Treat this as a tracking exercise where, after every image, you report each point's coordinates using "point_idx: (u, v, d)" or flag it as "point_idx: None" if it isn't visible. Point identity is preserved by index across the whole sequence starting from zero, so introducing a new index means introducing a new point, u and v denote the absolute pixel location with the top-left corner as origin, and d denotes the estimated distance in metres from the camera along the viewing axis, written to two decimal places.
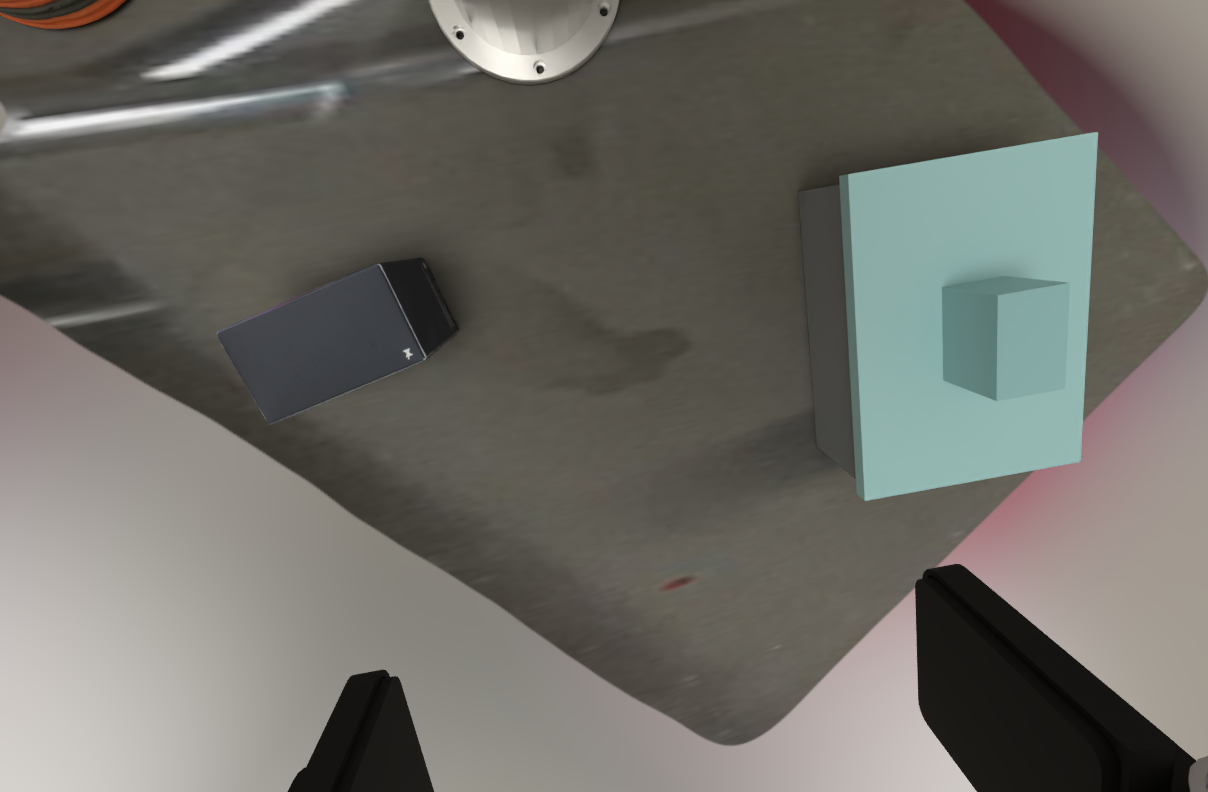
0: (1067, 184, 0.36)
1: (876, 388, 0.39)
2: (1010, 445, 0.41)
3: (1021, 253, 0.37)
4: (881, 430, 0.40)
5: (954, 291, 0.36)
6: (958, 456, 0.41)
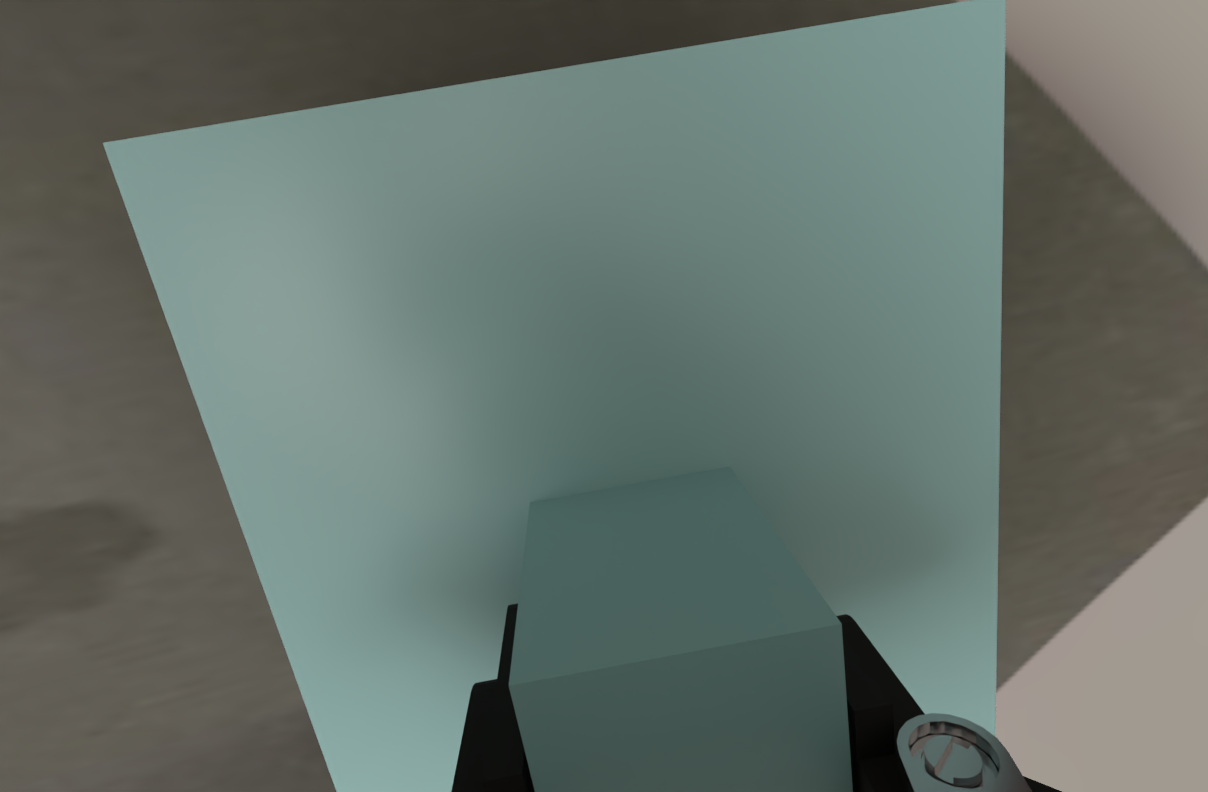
0: (909, 180, 0.11)
1: (383, 774, 0.13)
2: None
3: (775, 399, 0.12)
4: None
5: (527, 541, 0.11)
6: None
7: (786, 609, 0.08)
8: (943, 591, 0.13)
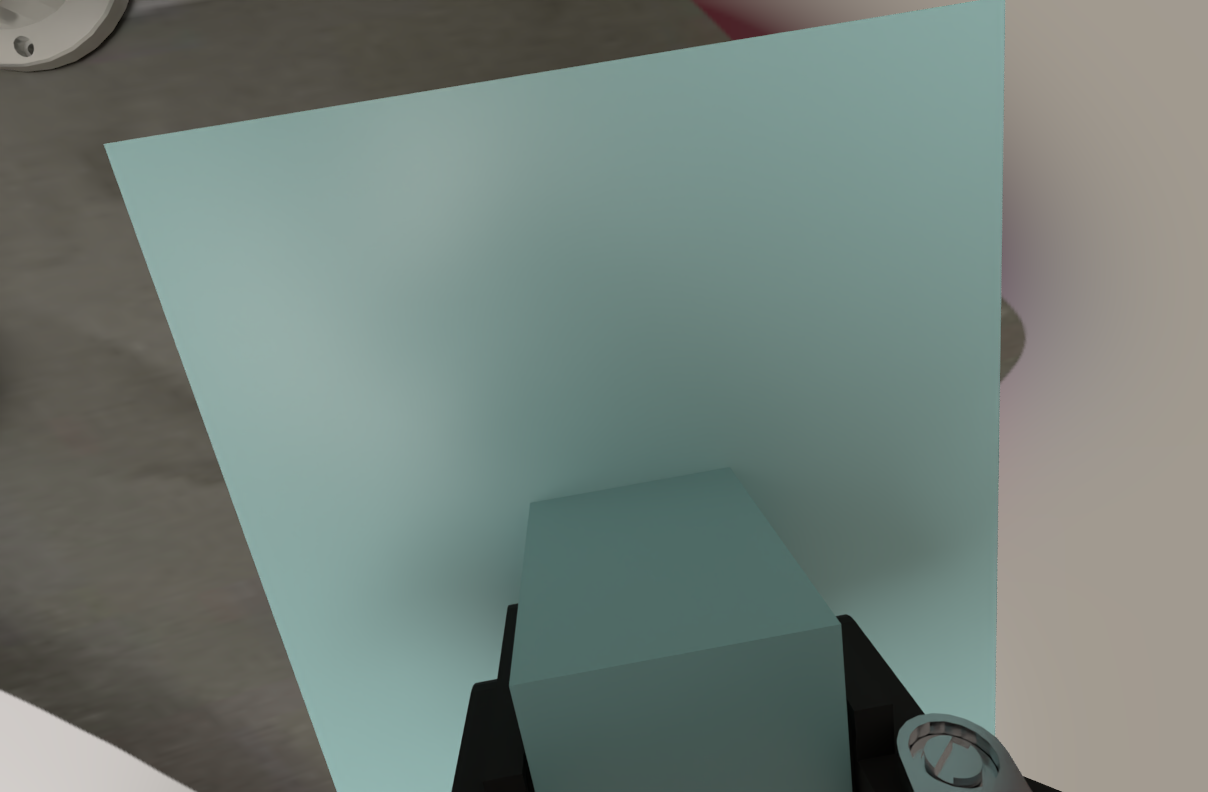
0: (908, 181, 0.11)
1: (383, 773, 0.13)
2: None
3: (774, 400, 0.12)
4: None
5: (528, 541, 0.11)
6: None
7: (786, 609, 0.08)
8: (943, 591, 0.13)
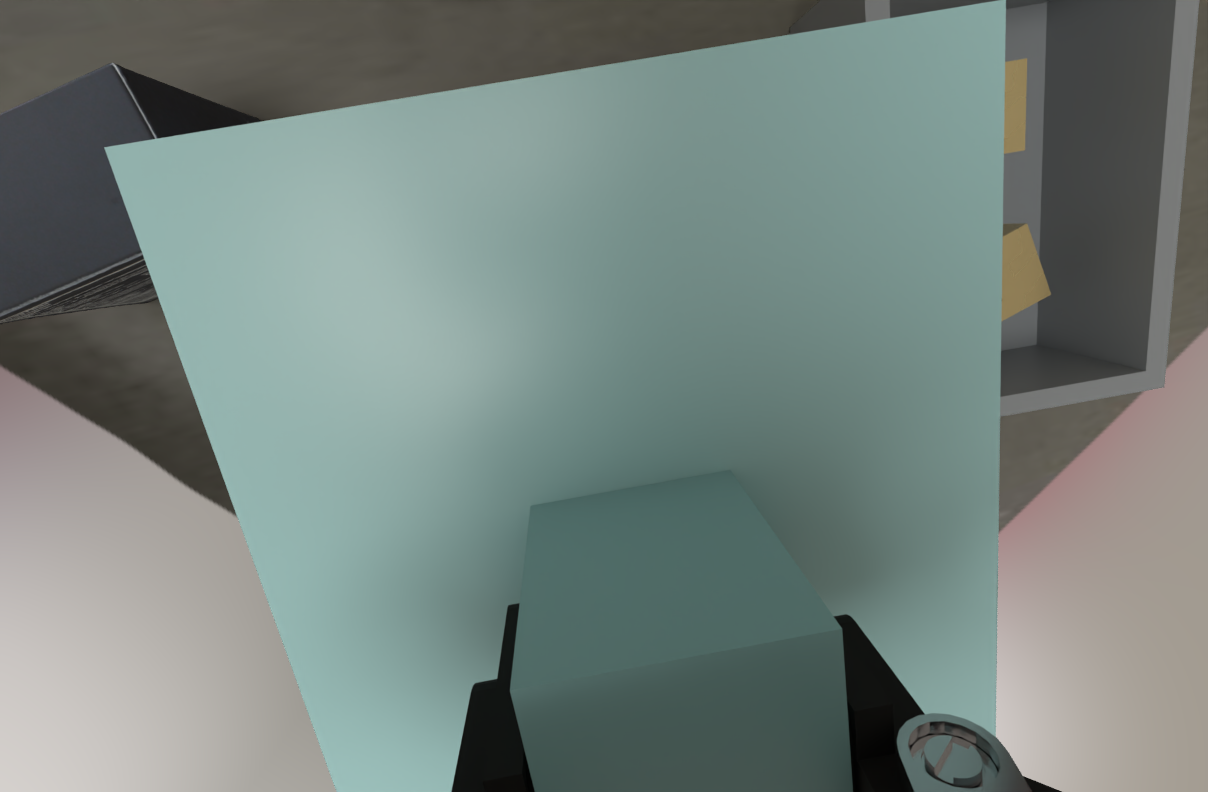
0: (909, 184, 0.11)
1: (383, 776, 0.13)
2: None
3: (775, 403, 0.12)
4: None
5: (529, 544, 0.11)
6: None
7: (786, 614, 0.08)
8: (943, 594, 0.13)
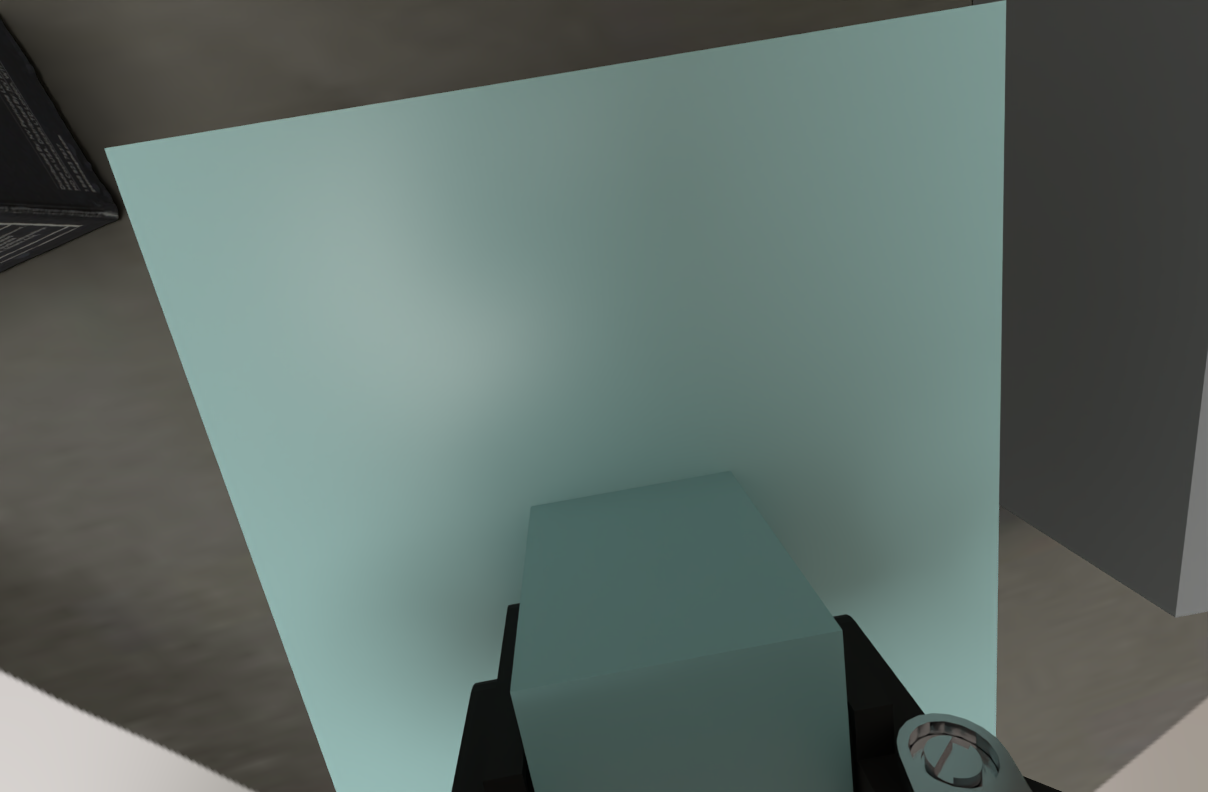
0: (909, 185, 0.11)
1: (383, 776, 0.13)
2: None
3: (775, 404, 0.12)
4: None
5: (529, 545, 0.11)
6: None
7: (787, 615, 0.08)
8: (943, 595, 0.13)
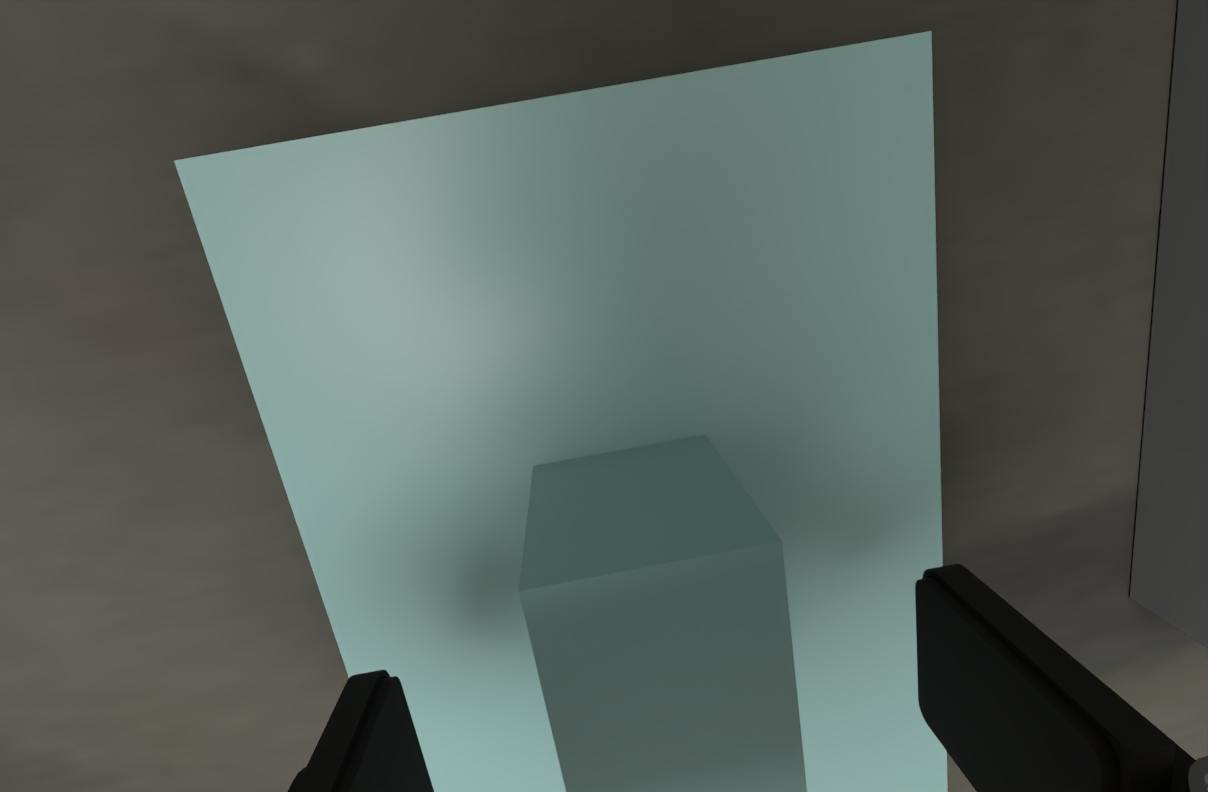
0: (854, 186, 0.13)
1: None
2: None
3: (743, 376, 0.14)
4: None
5: (532, 495, 0.13)
6: None
7: (740, 533, 0.10)
8: (894, 544, 0.15)
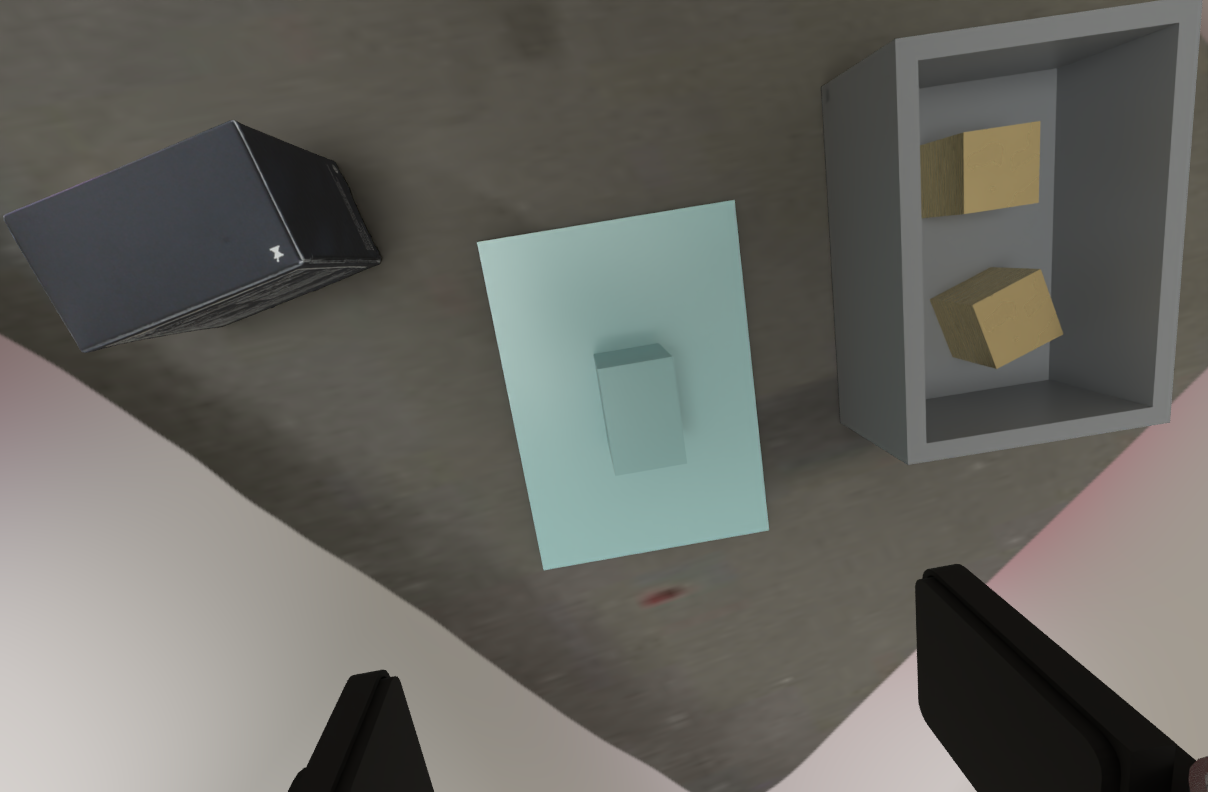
0: (710, 251, 0.36)
1: (538, 455, 0.38)
2: (691, 513, 0.39)
3: (672, 320, 0.37)
4: (550, 498, 0.39)
5: (594, 360, 0.36)
6: (637, 524, 0.39)
7: (661, 356, 0.32)
8: (735, 390, 0.38)
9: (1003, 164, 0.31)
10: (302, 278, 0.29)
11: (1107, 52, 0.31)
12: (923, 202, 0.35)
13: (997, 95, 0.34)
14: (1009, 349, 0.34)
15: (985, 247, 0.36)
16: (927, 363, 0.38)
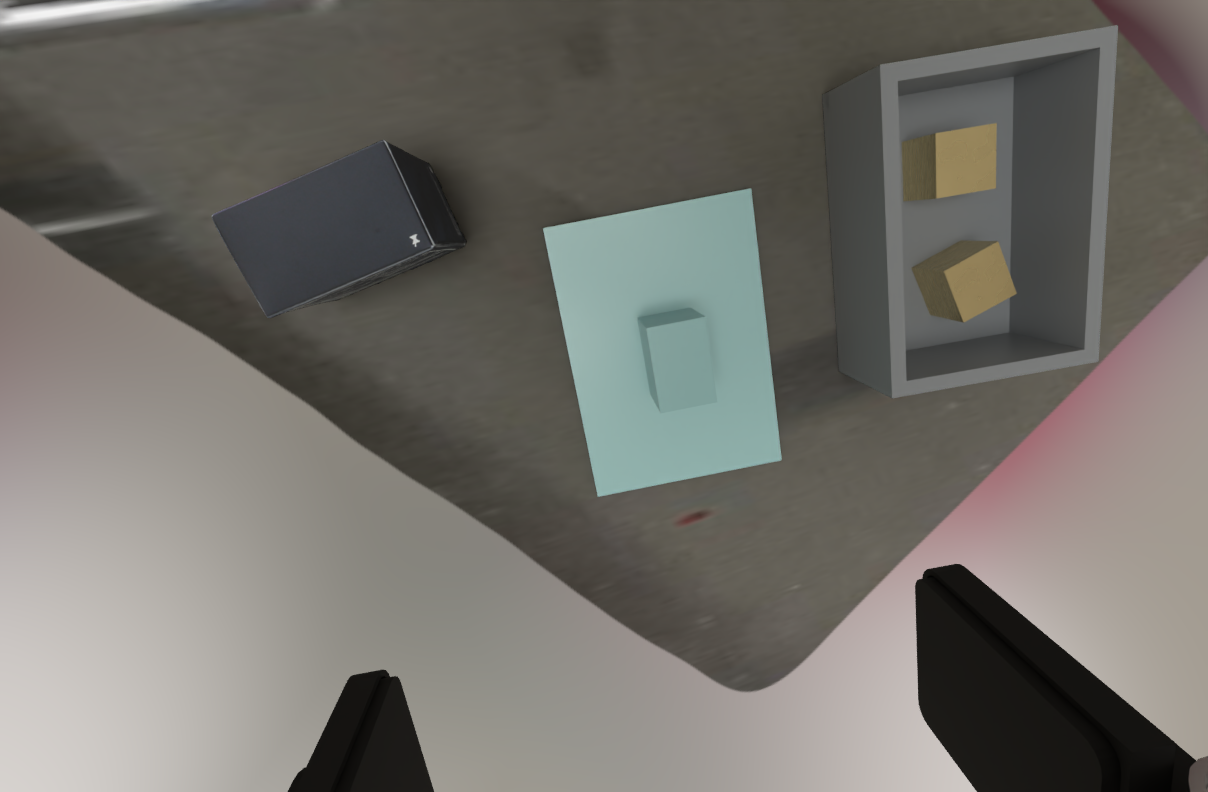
0: (732, 231, 0.44)
1: (593, 402, 0.47)
2: (718, 447, 0.48)
3: (701, 288, 0.45)
4: (603, 437, 0.47)
5: (639, 322, 0.44)
6: (673, 457, 0.48)
7: (696, 317, 0.41)
8: (752, 345, 0.46)
9: (967, 158, 0.39)
10: (419, 259, 0.37)
11: (1050, 66, 0.39)
12: (905, 188, 0.43)
13: (965, 99, 0.42)
14: (973, 306, 0.42)
15: (956, 224, 0.44)
16: (909, 320, 0.46)
